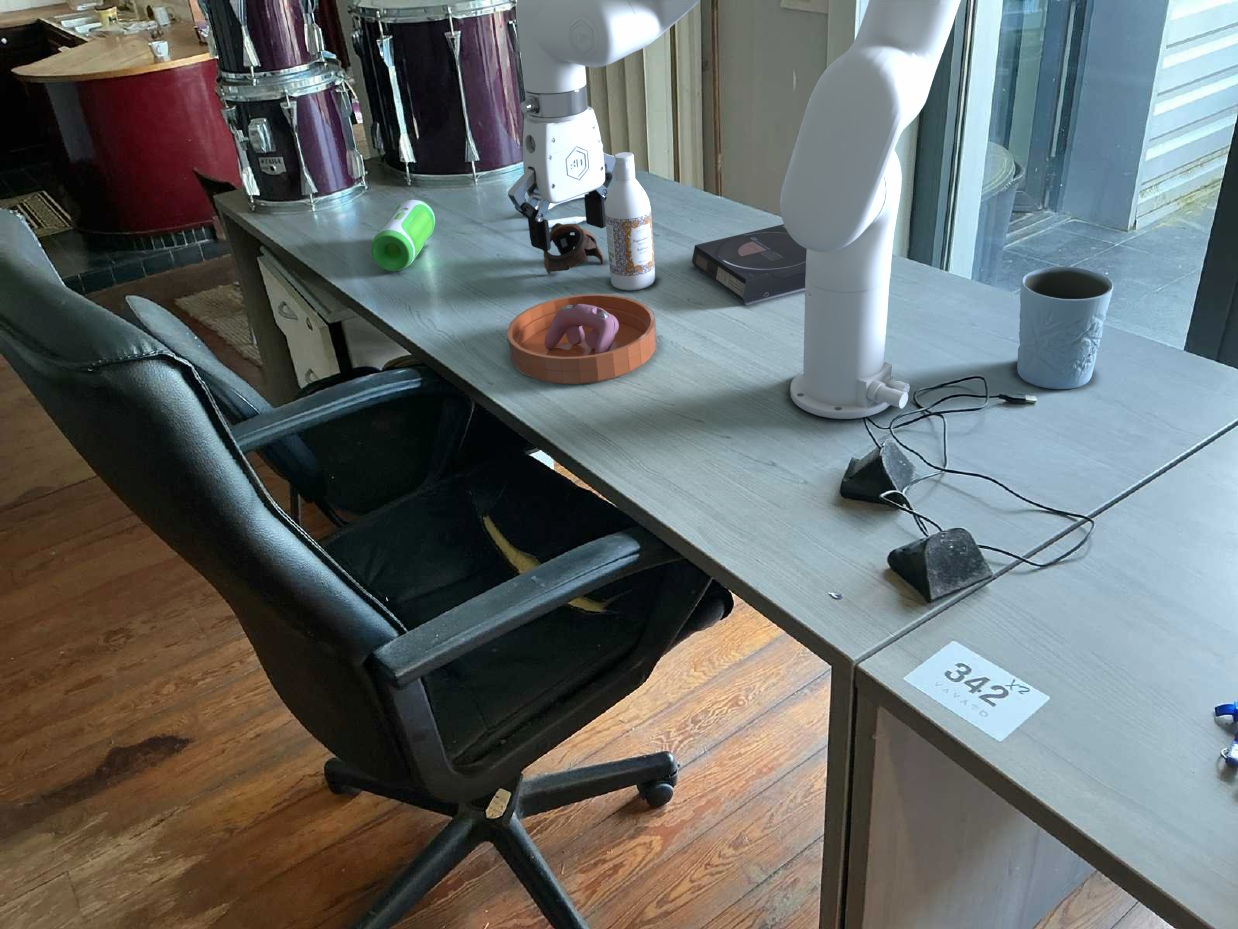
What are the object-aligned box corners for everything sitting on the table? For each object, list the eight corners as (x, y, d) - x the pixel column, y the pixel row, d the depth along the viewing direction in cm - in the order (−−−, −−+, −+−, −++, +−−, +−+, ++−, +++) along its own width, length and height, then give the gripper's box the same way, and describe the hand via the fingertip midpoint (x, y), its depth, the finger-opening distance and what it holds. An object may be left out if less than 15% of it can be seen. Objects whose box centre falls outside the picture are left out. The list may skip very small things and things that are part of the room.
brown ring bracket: (618, 269, 168) (599, 236, 162) (571, 305, 168) (551, 273, 162) (583, 232, 175) (564, 198, 169) (538, 265, 175) (517, 233, 169)
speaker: (402, 237, 188) (393, 196, 184) (441, 235, 187) (433, 195, 183) (373, 275, 173) (364, 232, 169) (416, 274, 172) (407, 230, 168)
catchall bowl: (686, 343, 143) (685, 317, 141) (580, 401, 132) (576, 373, 129) (586, 307, 156) (584, 283, 153) (481, 357, 144) (476, 331, 142)
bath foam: (627, 295, 158) (616, 165, 147) (602, 282, 163) (590, 155, 153) (664, 282, 161) (656, 154, 150) (638, 270, 166) (629, 144, 155)
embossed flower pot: (1086, 398, 123) (1104, 305, 116) (999, 382, 127) (1011, 291, 121) (1103, 362, 130) (1120, 271, 123) (1019, 348, 134) (1032, 260, 128)
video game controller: (617, 362, 142) (625, 311, 141) (599, 361, 138) (608, 309, 137) (558, 349, 147) (566, 300, 146) (539, 348, 143) (547, 297, 142)
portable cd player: (692, 269, 165) (691, 245, 163) (785, 247, 170) (785, 223, 168) (742, 306, 152) (742, 280, 150) (842, 280, 157) (843, 255, 155)
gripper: (522, 123, 119) (537, 264, 128) (628, 90, 128) (636, 223, 138) (481, 114, 123) (499, 250, 133) (587, 82, 133) (597, 212, 142)
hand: (569, 236), depth 135 cm, fingers open, 9 cm apart
